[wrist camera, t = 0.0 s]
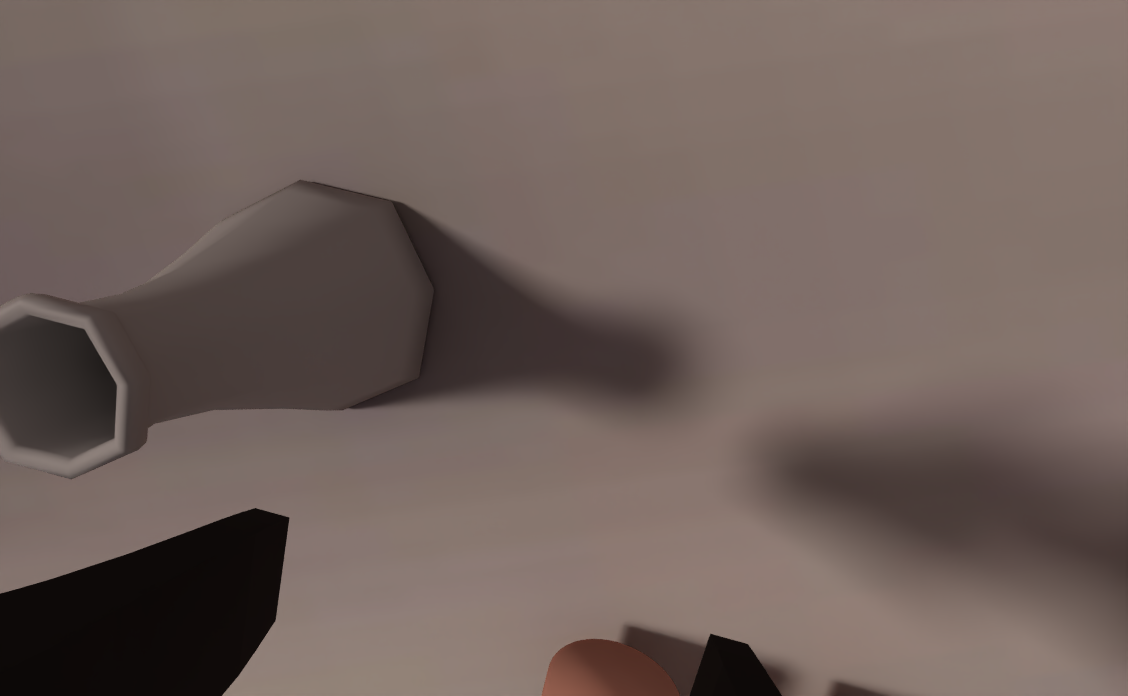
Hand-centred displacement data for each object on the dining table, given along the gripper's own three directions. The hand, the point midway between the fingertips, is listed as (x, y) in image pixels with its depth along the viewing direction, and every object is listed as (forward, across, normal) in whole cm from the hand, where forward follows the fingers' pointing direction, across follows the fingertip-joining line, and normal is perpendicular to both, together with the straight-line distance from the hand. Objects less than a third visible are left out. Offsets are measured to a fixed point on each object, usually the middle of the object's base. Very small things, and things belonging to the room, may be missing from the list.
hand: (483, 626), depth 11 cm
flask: (+10, +8, -2) cm, 13 cm away
